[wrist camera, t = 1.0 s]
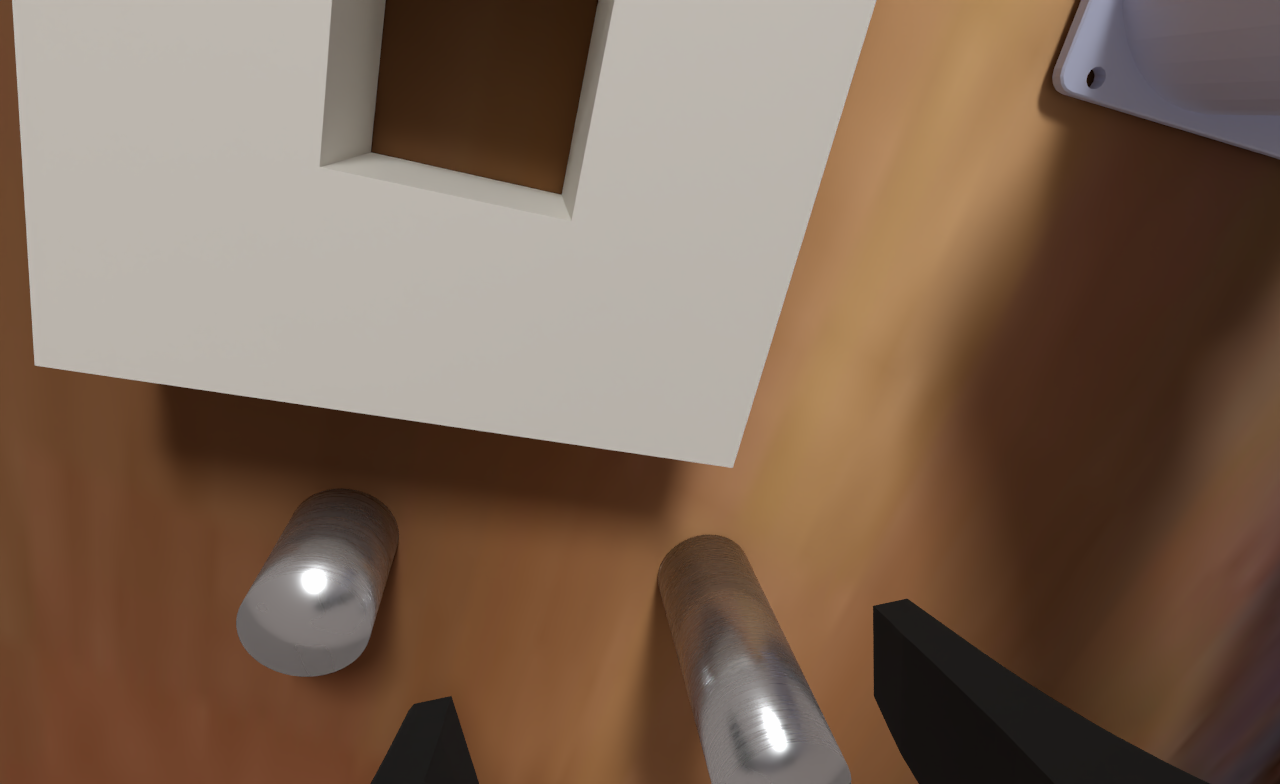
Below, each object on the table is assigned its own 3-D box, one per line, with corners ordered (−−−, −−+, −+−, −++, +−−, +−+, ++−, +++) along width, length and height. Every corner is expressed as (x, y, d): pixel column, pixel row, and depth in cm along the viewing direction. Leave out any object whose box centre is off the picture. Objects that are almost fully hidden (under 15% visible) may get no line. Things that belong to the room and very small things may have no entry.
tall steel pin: (759, 540, 23) (869, 747, 15) (734, 616, 24) (826, 845, 16) (670, 529, 22) (740, 740, 15) (648, 607, 23) (703, 842, 16)
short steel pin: (404, 495, 20) (377, 581, 17) (393, 581, 21) (364, 680, 18) (293, 481, 20) (238, 567, 16) (286, 571, 21) (234, 671, 17)
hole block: (849, -180, 16) (963, -282, 12) (691, 395, 20) (732, 467, 16) (150, -440, 13) (-31, -700, 9) (151, 303, 17) (34, 365, 13)
